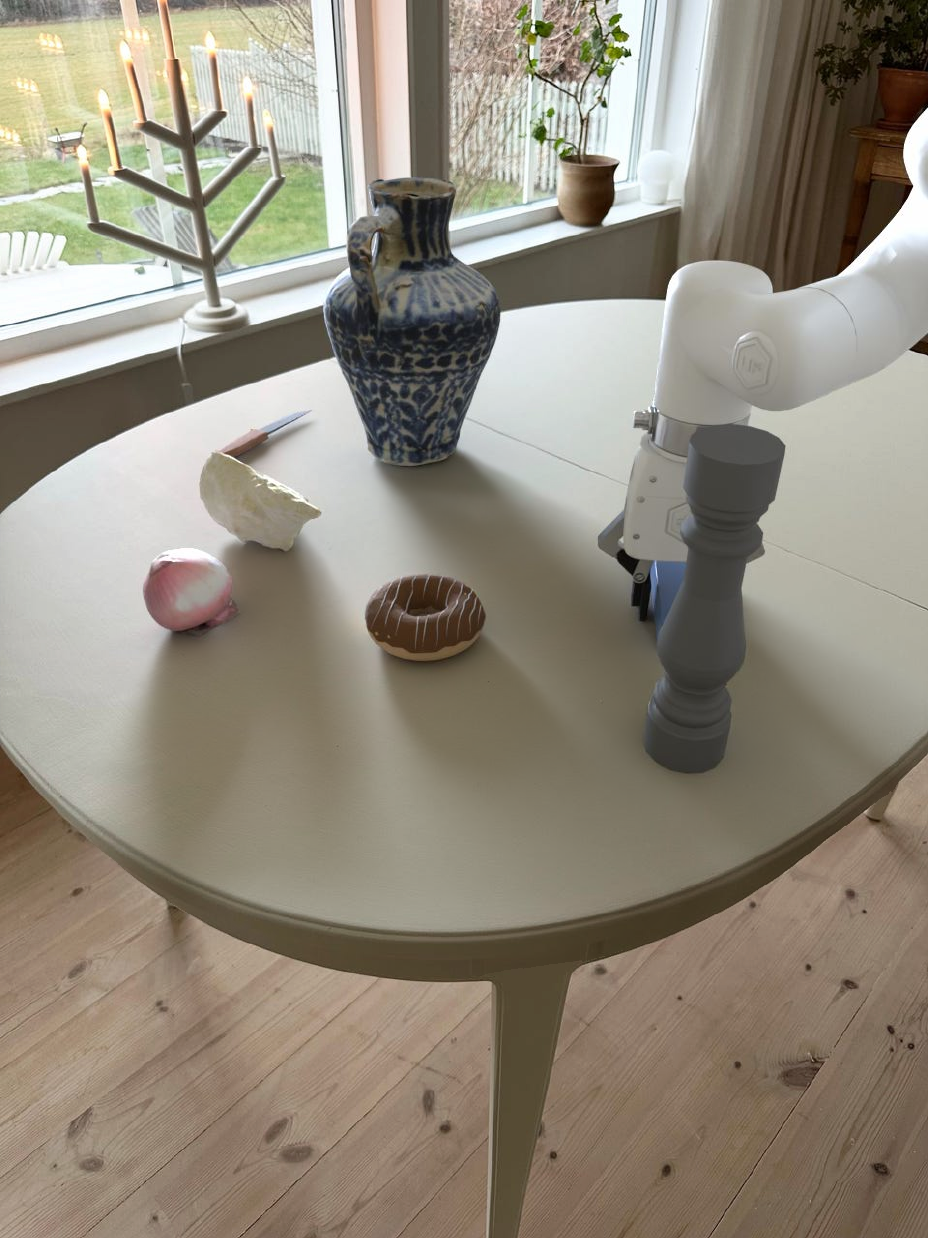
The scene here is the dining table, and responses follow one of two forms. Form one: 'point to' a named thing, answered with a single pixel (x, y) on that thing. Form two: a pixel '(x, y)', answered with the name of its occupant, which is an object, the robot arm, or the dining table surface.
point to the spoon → (665, 588)
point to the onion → (189, 592)
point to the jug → (410, 323)
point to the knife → (257, 436)
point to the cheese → (252, 503)
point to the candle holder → (711, 594)
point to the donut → (424, 617)
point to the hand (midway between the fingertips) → (669, 611)
